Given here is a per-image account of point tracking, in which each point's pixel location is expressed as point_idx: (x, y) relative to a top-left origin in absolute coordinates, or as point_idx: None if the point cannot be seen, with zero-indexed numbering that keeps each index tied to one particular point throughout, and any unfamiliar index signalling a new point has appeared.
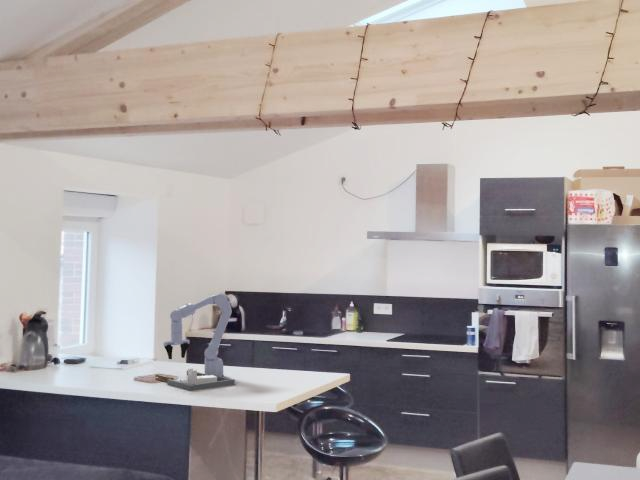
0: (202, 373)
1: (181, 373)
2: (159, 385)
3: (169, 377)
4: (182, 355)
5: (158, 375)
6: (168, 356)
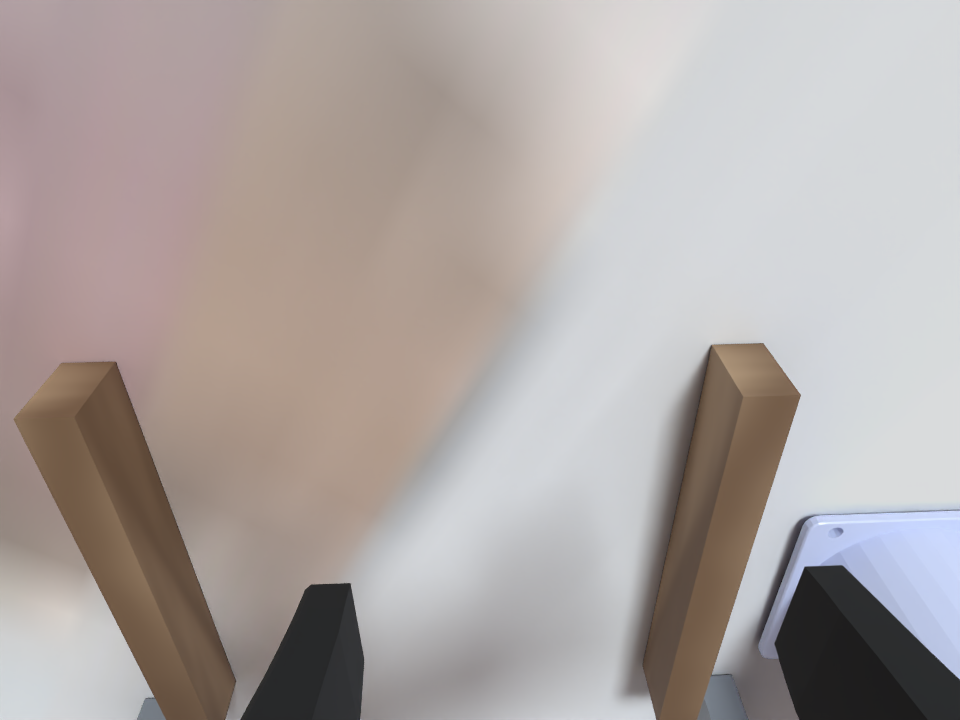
0: (703, 689)
1: (801, 89)
2: (41, 700)
3: (184, 700)
4: (821, 675)
5: (62, 508)
6: (279, 665)
